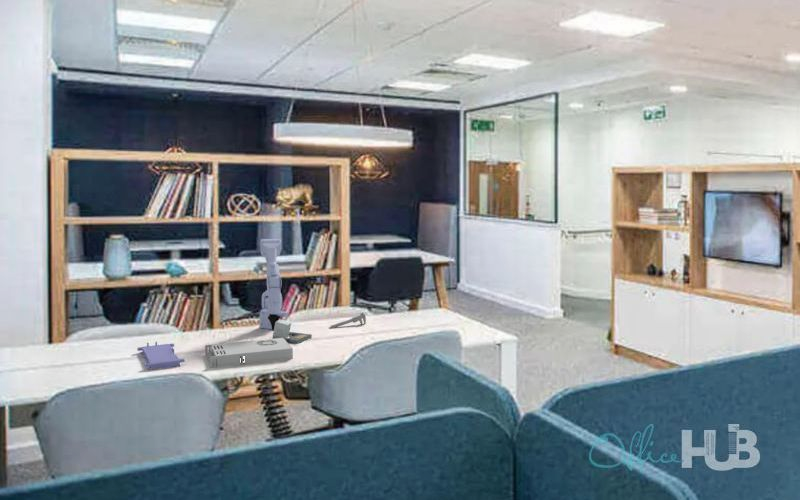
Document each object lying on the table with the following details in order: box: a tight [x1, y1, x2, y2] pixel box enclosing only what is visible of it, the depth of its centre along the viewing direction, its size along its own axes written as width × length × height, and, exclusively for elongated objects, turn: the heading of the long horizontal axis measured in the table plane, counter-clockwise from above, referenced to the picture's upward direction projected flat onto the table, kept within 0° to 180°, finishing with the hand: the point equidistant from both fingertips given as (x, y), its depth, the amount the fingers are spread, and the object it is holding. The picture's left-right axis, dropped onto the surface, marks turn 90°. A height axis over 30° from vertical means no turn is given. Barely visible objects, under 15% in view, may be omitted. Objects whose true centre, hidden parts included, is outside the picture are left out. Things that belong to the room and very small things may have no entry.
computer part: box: [136, 341, 185, 370], centre depth 265 cm, size 30×4×15 cm
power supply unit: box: [204, 338, 294, 368], centre depth 268 cm, size 19×33×5 cm, turn 113°
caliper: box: [328, 311, 367, 329], centre depth 323 cm, size 20×1×6 cm, turn 121°
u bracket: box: [271, 331, 313, 345], centre depth 297 cm, size 14×12×2 cm
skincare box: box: [272, 318, 292, 338], centre depth 299 cm, size 6×6×7 cm
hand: (274, 330), depth 300 cm, fingers closed, pressing on skincare box
